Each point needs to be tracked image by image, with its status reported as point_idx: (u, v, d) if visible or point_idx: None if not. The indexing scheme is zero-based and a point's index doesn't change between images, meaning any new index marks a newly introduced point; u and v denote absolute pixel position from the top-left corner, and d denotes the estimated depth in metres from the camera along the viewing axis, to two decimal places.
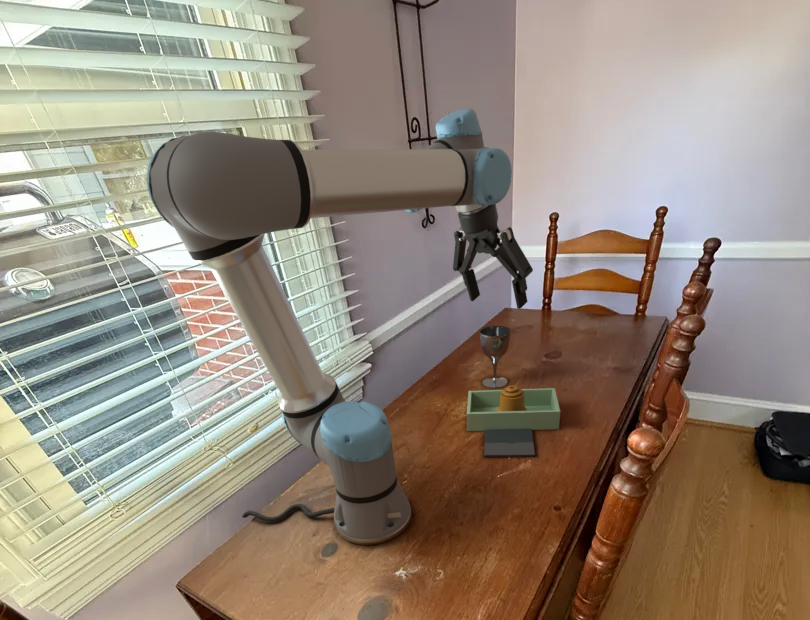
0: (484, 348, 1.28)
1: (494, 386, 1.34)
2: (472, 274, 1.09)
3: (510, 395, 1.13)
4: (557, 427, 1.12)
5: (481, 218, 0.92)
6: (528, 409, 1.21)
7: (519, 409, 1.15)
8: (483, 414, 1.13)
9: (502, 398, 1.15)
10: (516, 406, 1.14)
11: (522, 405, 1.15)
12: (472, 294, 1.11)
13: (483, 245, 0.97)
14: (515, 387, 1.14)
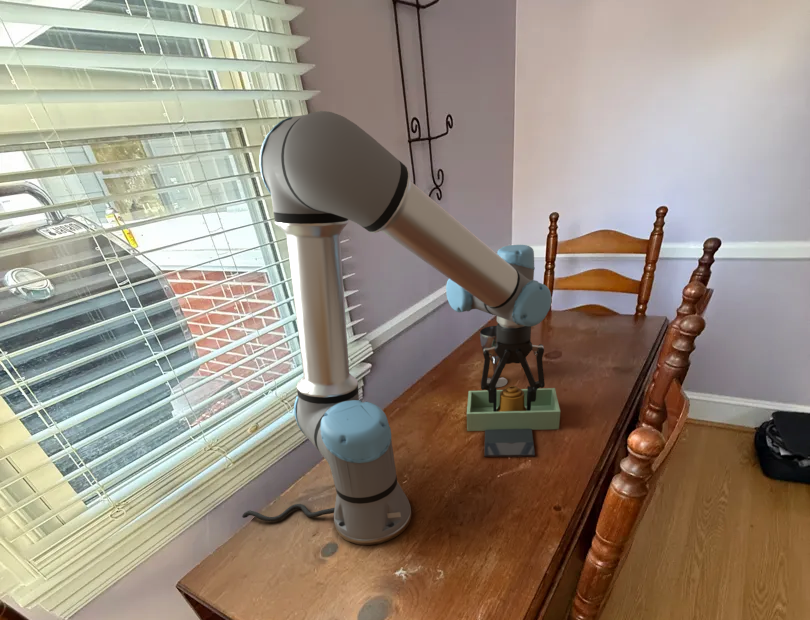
0: None
1: None
2: None
3: (510, 395, 1.13)
4: (557, 427, 1.12)
5: (527, 331, 1.04)
6: None
7: (519, 409, 1.15)
8: (483, 414, 1.13)
9: (502, 398, 1.15)
10: (516, 406, 1.14)
11: (522, 405, 1.15)
12: None
13: (520, 355, 1.07)
14: (515, 387, 1.14)
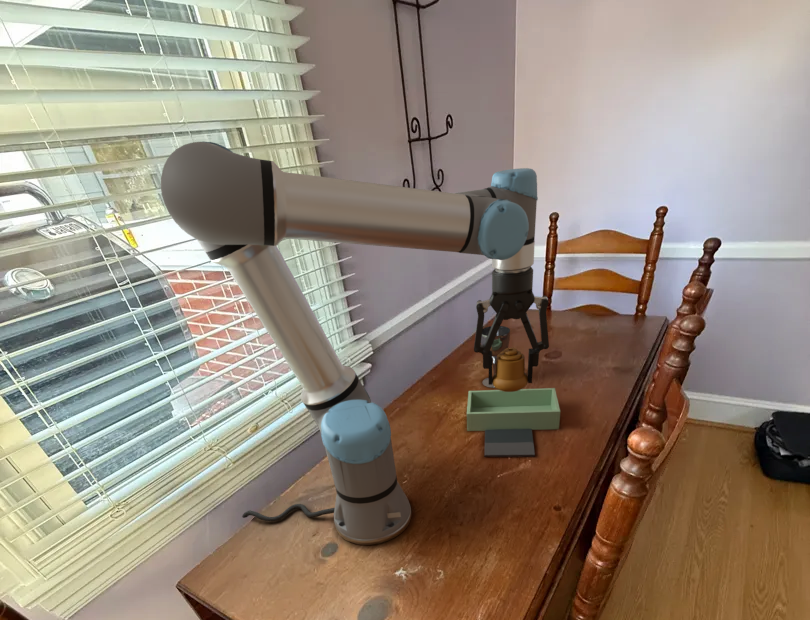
0: None
1: None
2: None
3: (508, 358, 0.96)
4: (557, 427, 1.12)
5: (529, 277, 0.86)
6: (528, 409, 1.21)
7: (519, 375, 0.98)
8: (483, 414, 1.13)
9: (499, 362, 0.98)
10: (515, 371, 0.97)
11: (522, 371, 0.98)
12: None
13: (520, 308, 0.90)
14: (514, 349, 0.97)
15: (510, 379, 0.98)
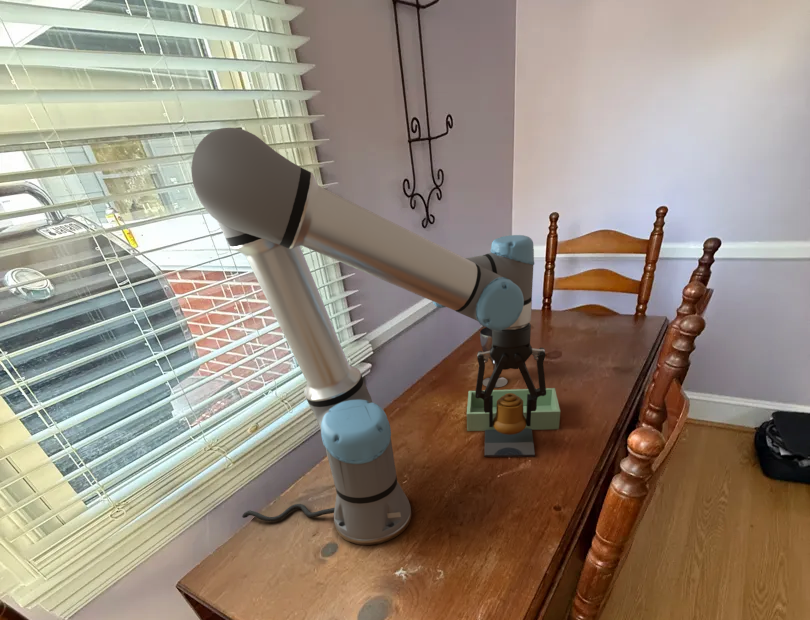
0: (484, 348, 1.28)
1: None
2: None
3: (508, 404, 1.02)
4: (557, 427, 1.12)
5: (527, 333, 0.92)
6: None
7: (518, 419, 1.03)
8: (483, 414, 1.13)
9: (499, 407, 1.03)
10: (514, 416, 1.03)
11: (521, 415, 1.04)
12: (492, 420, 1.06)
13: (518, 360, 0.96)
14: (513, 395, 1.03)
15: (510, 423, 1.04)
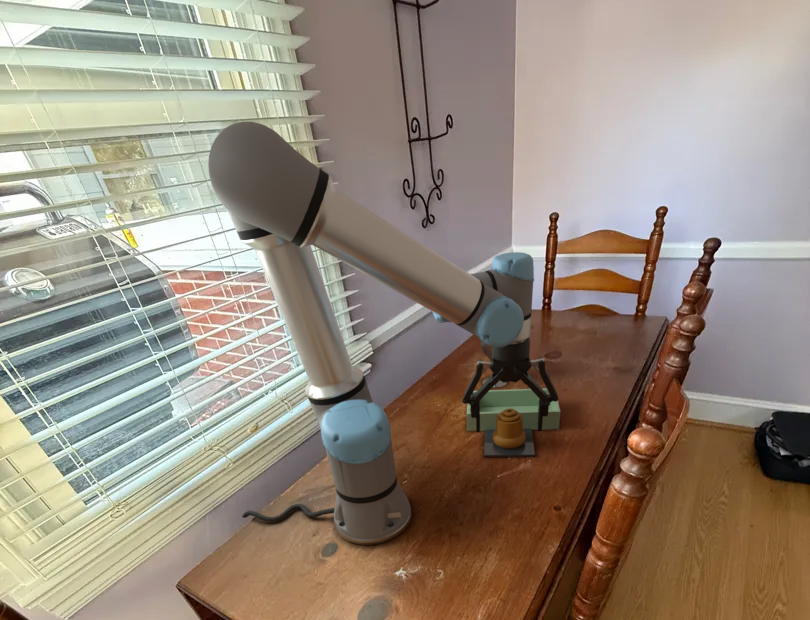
0: (484, 348, 1.28)
1: (494, 386, 1.34)
2: None
3: (507, 419, 1.04)
4: (557, 427, 1.12)
5: (526, 347, 0.94)
6: (528, 409, 1.21)
7: (517, 434, 1.06)
8: (483, 414, 1.13)
9: (499, 422, 1.05)
10: (514, 431, 1.05)
11: (520, 430, 1.06)
12: (479, 425, 1.07)
13: (517, 373, 0.98)
14: (513, 410, 1.05)
15: (509, 438, 1.06)
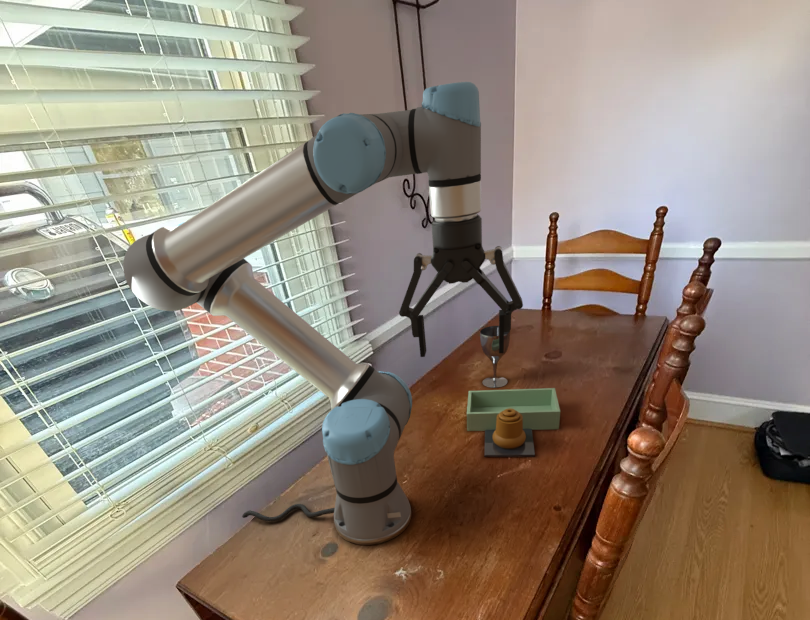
0: (484, 348, 1.28)
1: (494, 386, 1.34)
2: (423, 321, 0.82)
3: (507, 419, 1.04)
4: (557, 427, 1.12)
5: (475, 227, 0.69)
6: (528, 409, 1.21)
7: (517, 434, 1.06)
8: (483, 414, 1.13)
9: (499, 422, 1.05)
10: (514, 431, 1.05)
11: (520, 430, 1.06)
12: (424, 347, 0.83)
13: (467, 268, 0.73)
14: (513, 410, 1.05)
15: (509, 438, 1.06)
